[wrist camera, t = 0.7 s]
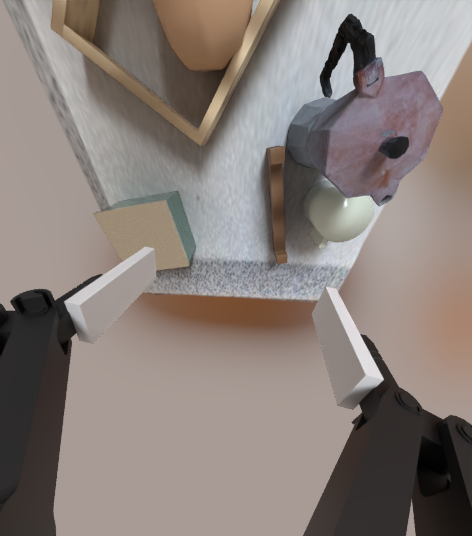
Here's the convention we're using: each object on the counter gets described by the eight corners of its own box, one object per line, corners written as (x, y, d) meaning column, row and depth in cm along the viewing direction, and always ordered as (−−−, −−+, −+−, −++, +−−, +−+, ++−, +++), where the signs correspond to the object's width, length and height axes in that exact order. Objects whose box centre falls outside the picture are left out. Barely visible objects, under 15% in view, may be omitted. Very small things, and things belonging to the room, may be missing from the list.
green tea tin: (119, 200, 37) (93, 213, 30) (178, 189, 36) (164, 200, 29) (146, 253, 44) (129, 274, 37) (197, 246, 42) (188, 266, 36)
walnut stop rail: (266, 148, 31) (270, 149, 27) (278, 145, 31) (284, 146, 27) (273, 251, 42) (277, 264, 38) (282, 250, 42) (287, 262, 38)
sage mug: (315, 174, 33) (336, 184, 26) (354, 187, 34) (386, 200, 27) (291, 226, 39) (302, 246, 32) (325, 236, 40) (345, 258, 33)
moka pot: (304, 193, 35) (360, 240, 19) (261, 107, 28) (289, 61, 12) (357, 159, 32) (481, 179, 15) (322, 52, 25) (478, -117, 9)
